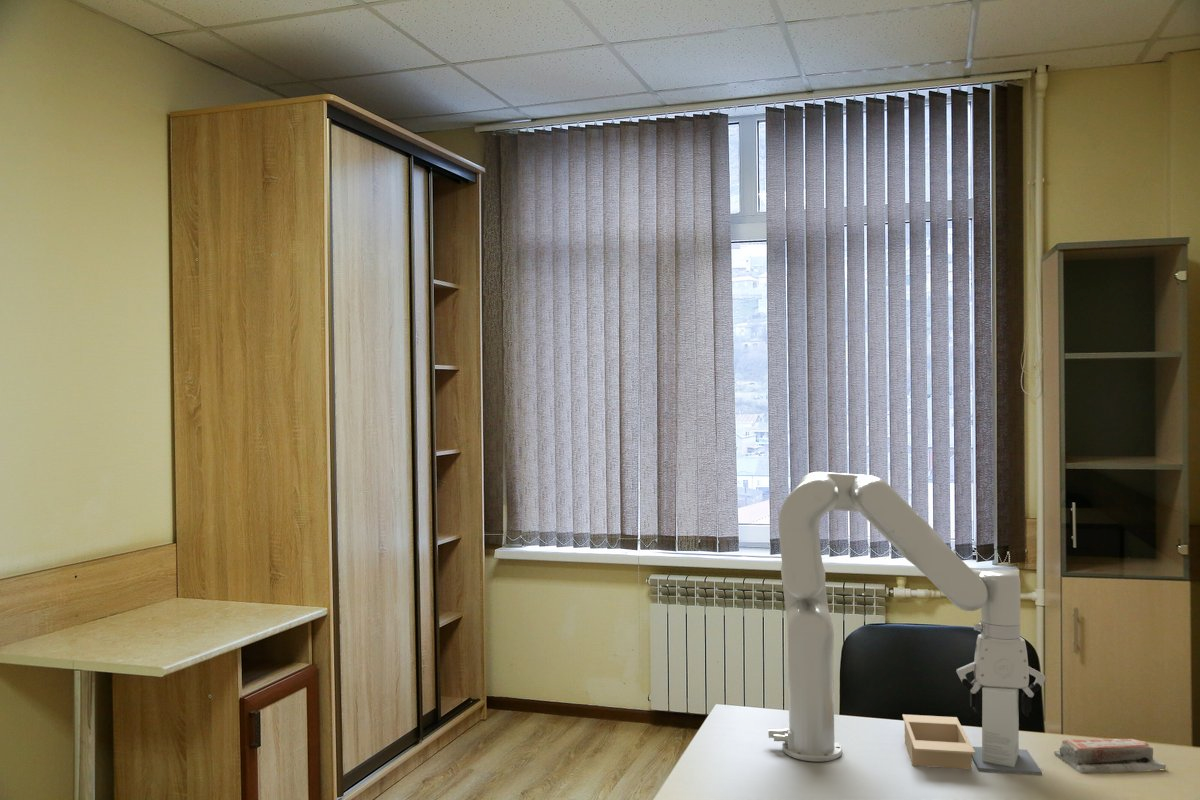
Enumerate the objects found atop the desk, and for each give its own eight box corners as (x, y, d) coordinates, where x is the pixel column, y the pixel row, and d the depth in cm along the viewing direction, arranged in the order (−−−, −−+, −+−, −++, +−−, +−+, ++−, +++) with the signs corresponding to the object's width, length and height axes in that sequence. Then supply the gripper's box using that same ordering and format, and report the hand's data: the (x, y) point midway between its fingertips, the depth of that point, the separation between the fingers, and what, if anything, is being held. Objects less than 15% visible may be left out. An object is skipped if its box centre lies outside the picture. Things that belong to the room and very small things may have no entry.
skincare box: (987, 749, 195) (986, 676, 195) (1021, 754, 192) (1020, 681, 192) (981, 762, 188) (980, 687, 188) (1016, 768, 185) (1015, 691, 185)
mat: (978, 770, 185) (978, 767, 185) (967, 748, 197) (967, 746, 197) (1042, 775, 183) (1042, 772, 183) (1026, 752, 195) (1026, 749, 195)
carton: (914, 773, 185) (914, 748, 185) (902, 736, 205) (902, 714, 205) (975, 777, 182) (975, 752, 182) (957, 739, 203) (956, 717, 203)
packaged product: (1080, 751, 184) (1053, 734, 194) (1080, 775, 184) (1053, 756, 194) (1166, 748, 184) (1135, 731, 194) (1167, 772, 184) (1135, 754, 194)
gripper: (960, 632, 188) (959, 715, 188) (1050, 637, 185) (1050, 721, 185) (953, 624, 196) (953, 703, 196) (1040, 628, 192) (1040, 709, 192)
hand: (1000, 712), depth 190 cm, fingers open, 9 cm apart
